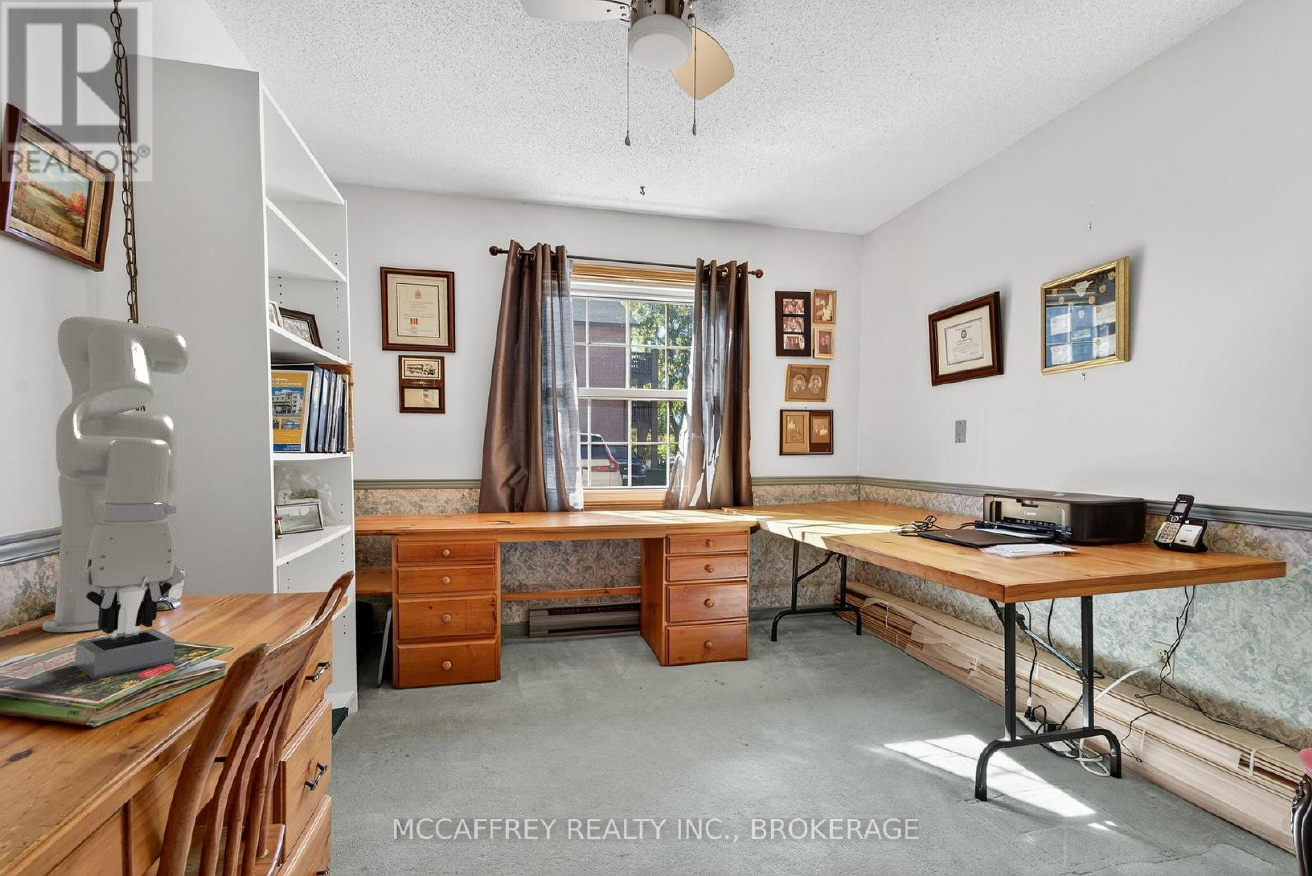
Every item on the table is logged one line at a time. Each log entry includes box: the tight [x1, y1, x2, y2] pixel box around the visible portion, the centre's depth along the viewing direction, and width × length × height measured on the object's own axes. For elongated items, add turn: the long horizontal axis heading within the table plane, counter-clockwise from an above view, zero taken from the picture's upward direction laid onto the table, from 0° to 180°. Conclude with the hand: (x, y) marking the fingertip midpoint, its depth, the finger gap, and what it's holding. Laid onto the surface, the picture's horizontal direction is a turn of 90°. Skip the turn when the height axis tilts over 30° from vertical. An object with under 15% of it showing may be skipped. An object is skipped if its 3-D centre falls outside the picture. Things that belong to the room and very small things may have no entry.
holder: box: [74, 628, 176, 680], centre depth 93 cm, size 10×10×4 cm
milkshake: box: [110, 577, 149, 641], centre depth 94 cm, size 5×5×10 cm
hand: (127, 627), depth 93 cm, fingers closed on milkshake, 4 cm apart
